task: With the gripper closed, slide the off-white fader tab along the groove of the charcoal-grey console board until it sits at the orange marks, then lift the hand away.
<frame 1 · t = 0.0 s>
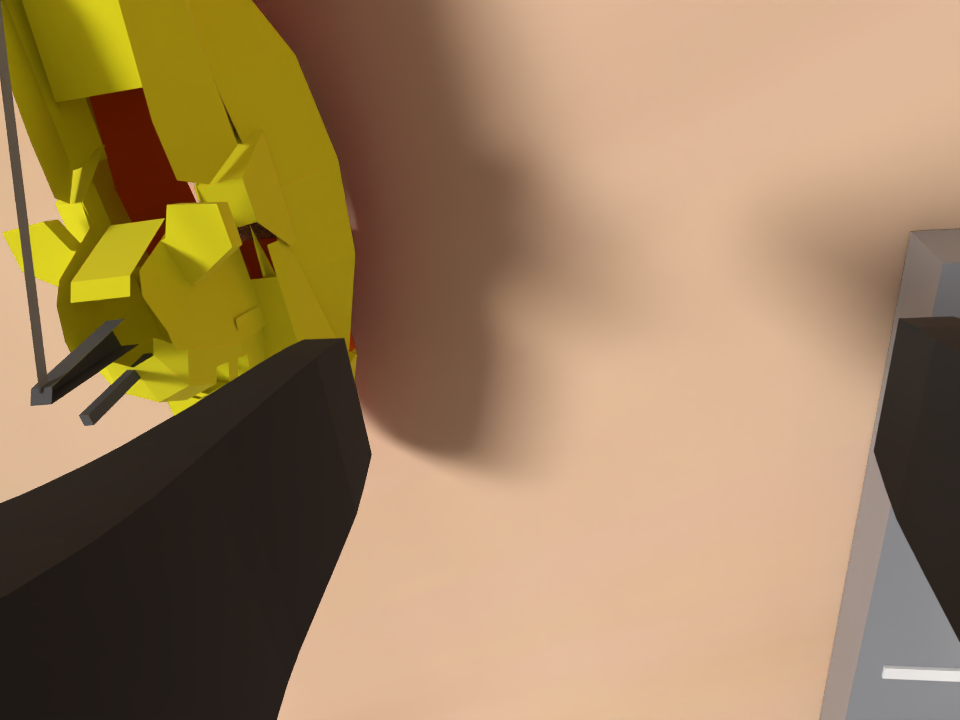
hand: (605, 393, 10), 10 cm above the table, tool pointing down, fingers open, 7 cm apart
toy boat: (263, 158, 20), on the table
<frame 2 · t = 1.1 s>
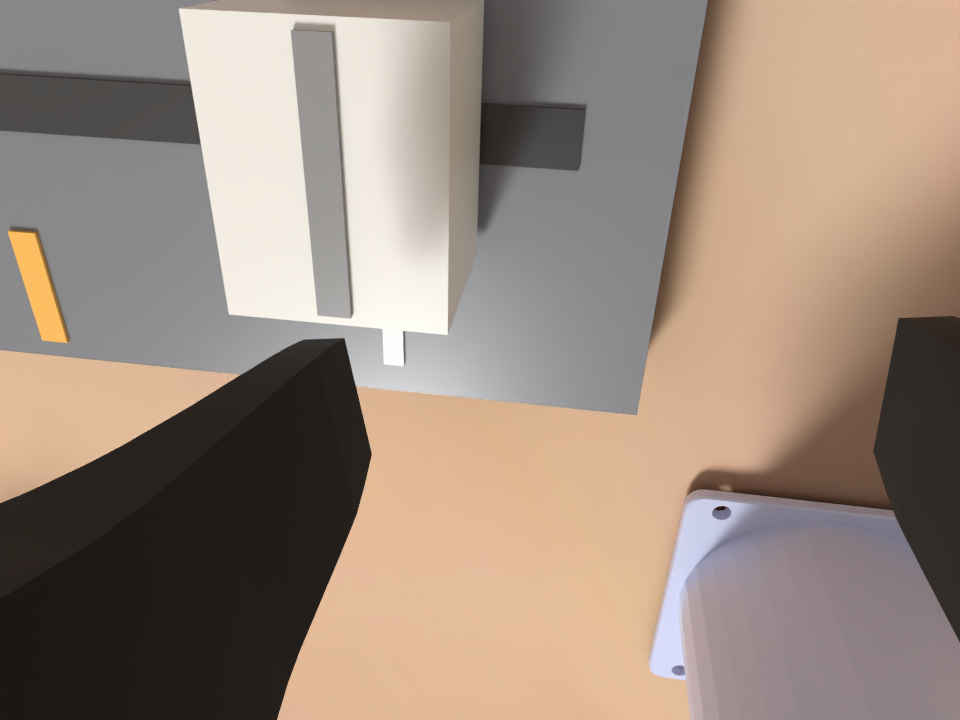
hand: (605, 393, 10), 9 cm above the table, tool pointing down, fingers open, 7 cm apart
fader tab: (356, 157, 13), point 4 cm above the table, slide at 0.0 cm
console board: (240, 96, 17), on the table
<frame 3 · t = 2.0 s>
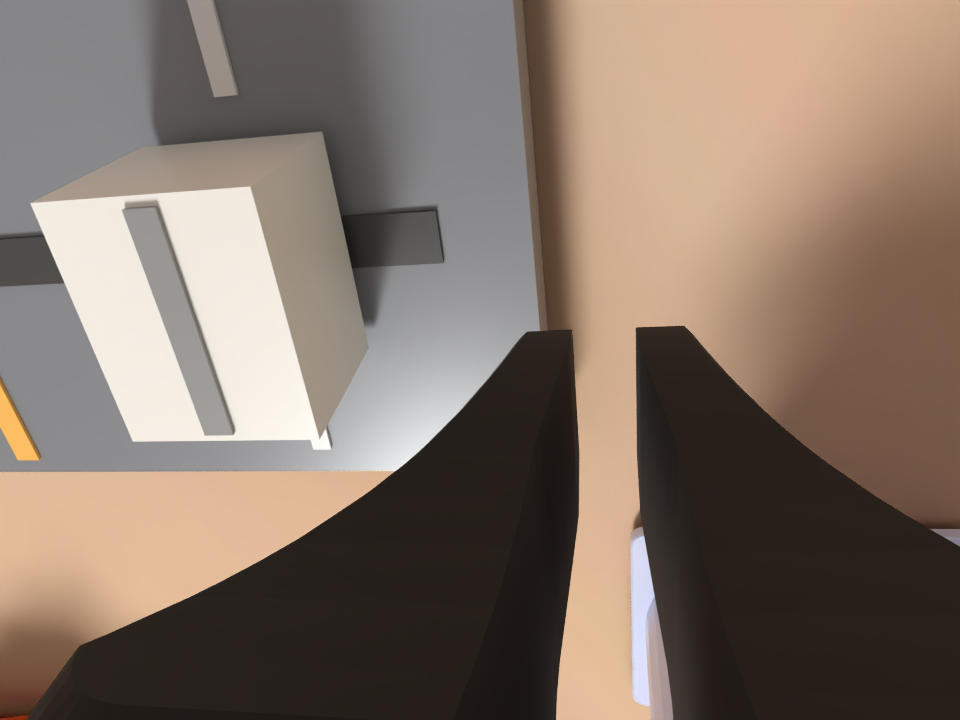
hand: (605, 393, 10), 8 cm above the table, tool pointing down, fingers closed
fader tab: (226, 288, 15), point 4 cm above the table, slide at 0.0 cm
console board: (154, 225, 19), on the table
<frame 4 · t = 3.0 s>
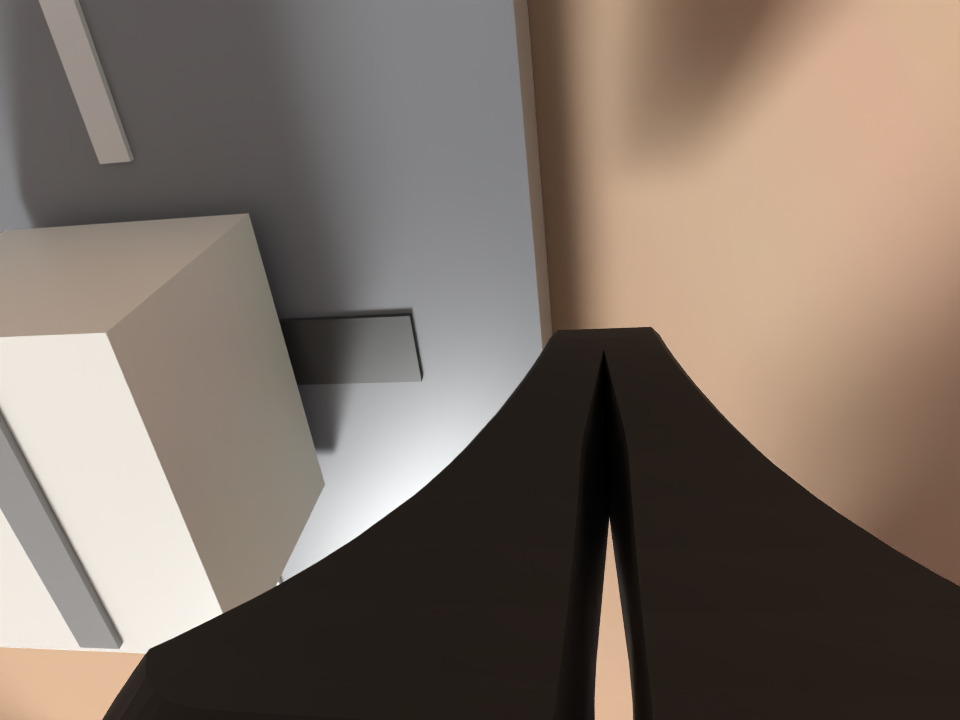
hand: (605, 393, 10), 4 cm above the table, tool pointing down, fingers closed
fader tab: (114, 433, 11), point 4 cm above the table, slide at 0.0 cm
console board: (54, 311, 15), on the table
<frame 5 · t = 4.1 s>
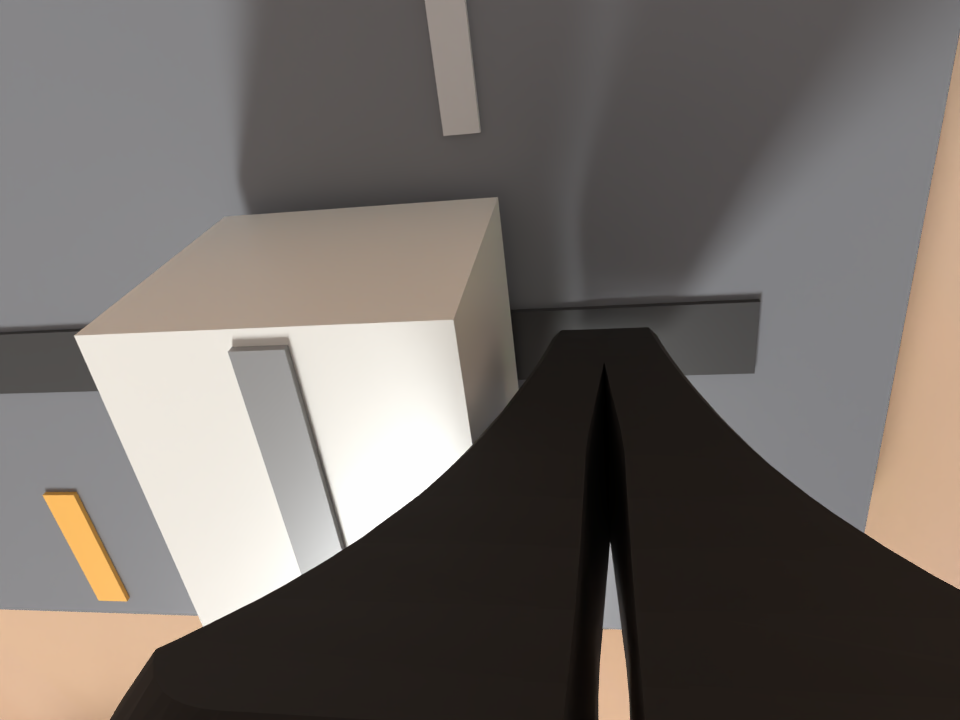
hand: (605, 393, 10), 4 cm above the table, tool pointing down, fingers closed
fader tab: (355, 430, 10), point 4 cm above the table, slide at 1.6 cm, touching gripper
console board: (295, 300, 14), on the table
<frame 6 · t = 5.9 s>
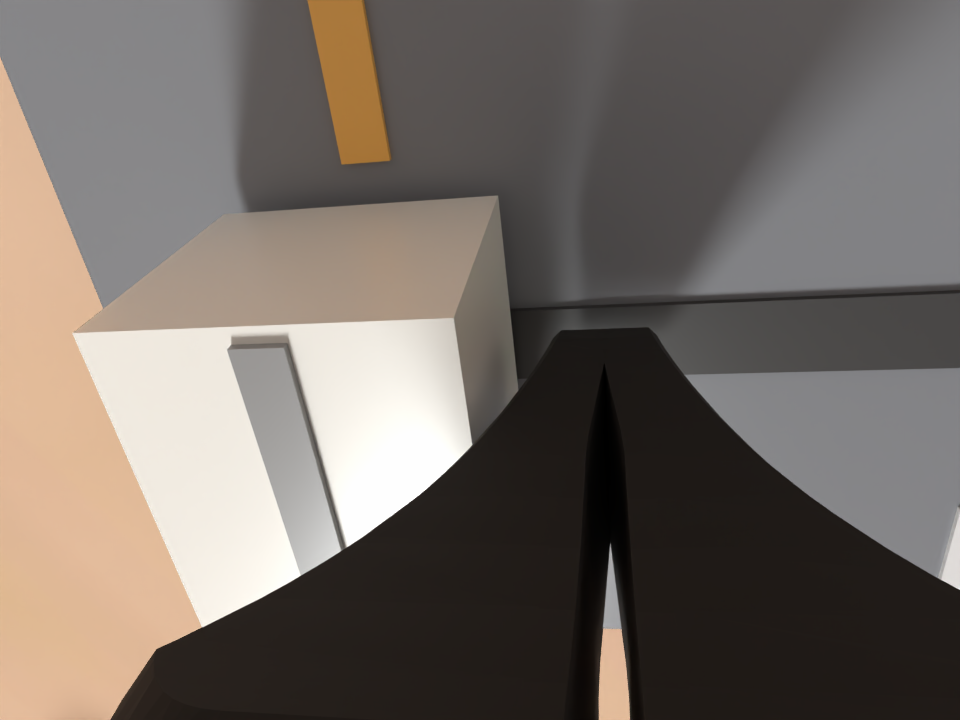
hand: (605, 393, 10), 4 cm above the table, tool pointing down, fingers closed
fader tab: (354, 429, 10), point 4 cm above the table, slide at 9.1 cm, touching gripper
console board: (709, 280, 13), on the table
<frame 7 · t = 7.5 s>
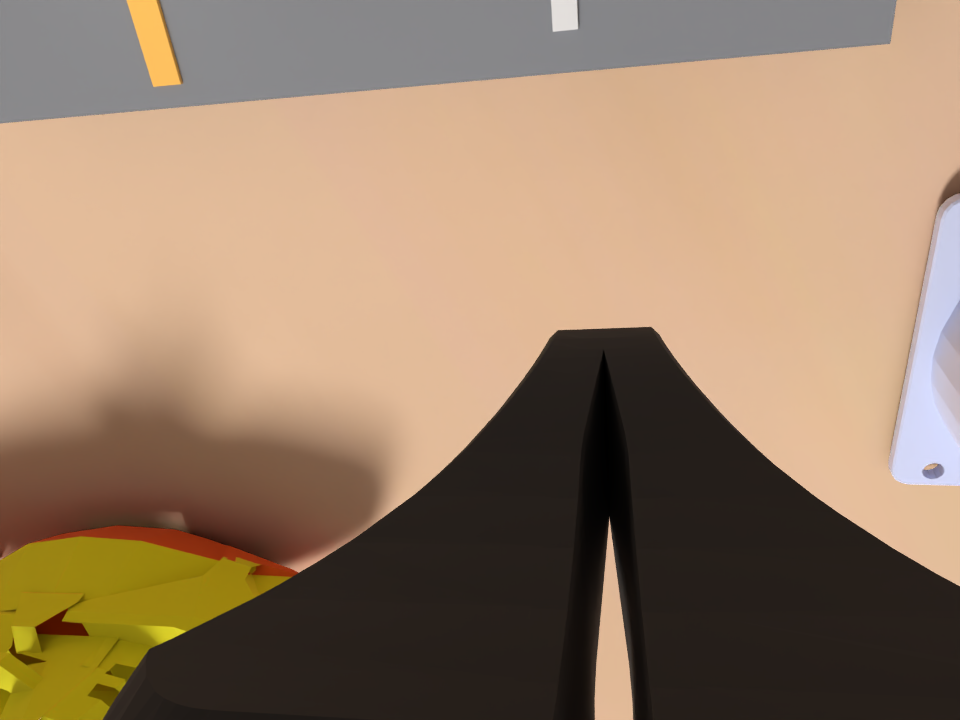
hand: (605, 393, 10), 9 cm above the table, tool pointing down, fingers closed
toy boat: (156, 552, 29), on the table
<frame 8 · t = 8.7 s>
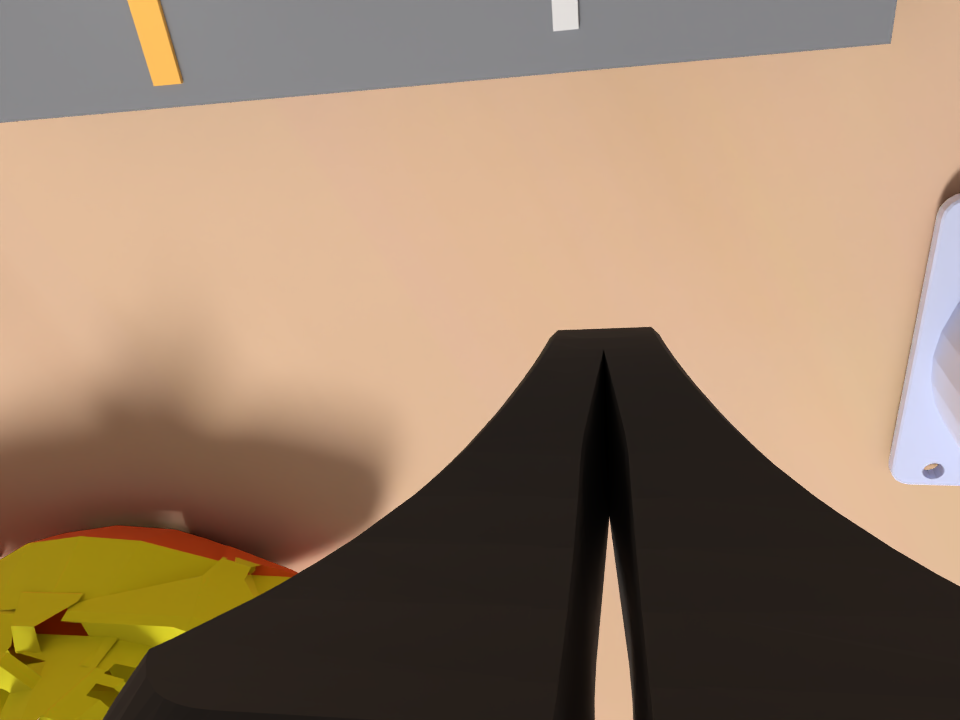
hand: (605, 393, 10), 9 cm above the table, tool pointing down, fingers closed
toy boat: (155, 552, 29), on the table
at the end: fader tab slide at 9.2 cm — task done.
